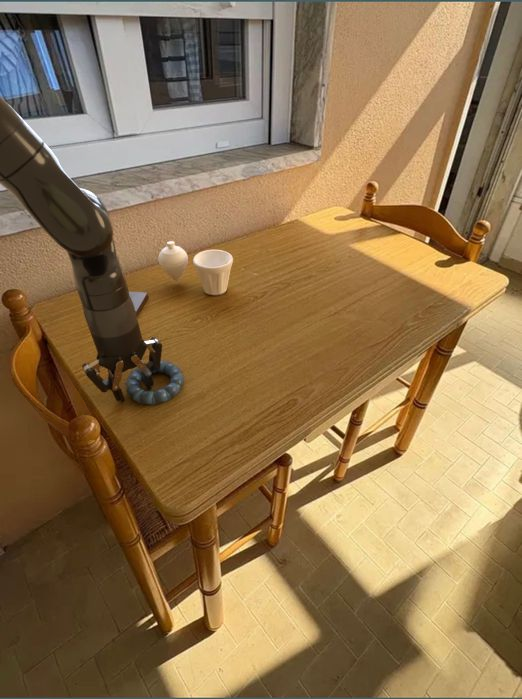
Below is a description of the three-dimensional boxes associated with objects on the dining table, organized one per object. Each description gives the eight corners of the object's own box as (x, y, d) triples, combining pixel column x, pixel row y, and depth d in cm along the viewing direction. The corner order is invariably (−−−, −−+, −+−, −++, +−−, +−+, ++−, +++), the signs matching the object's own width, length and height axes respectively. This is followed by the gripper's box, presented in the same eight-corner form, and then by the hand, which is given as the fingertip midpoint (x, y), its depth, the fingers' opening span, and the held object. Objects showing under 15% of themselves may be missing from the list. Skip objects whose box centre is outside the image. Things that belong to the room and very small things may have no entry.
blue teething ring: (119, 404, 71) (116, 395, 70) (138, 365, 79) (136, 356, 78) (175, 409, 70) (173, 400, 69) (189, 368, 79) (188, 360, 77)
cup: (190, 296, 99) (186, 264, 93) (205, 277, 106) (202, 247, 100) (226, 303, 97) (224, 270, 91) (239, 283, 104) (238, 252, 98)
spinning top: (182, 273, 108) (176, 233, 100) (196, 284, 103) (191, 243, 96) (157, 282, 104) (149, 241, 96) (171, 294, 100) (164, 252, 92)
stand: (100, 315, 92) (84, 265, 84) (115, 295, 99) (101, 247, 90) (136, 317, 92) (124, 267, 83) (148, 297, 99) (138, 249, 90)
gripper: (145, 297, 67) (161, 367, 78) (60, 325, 61) (91, 397, 72) (163, 318, 62) (177, 389, 74) (74, 350, 56) (104, 423, 67)
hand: (134, 393), depth 73 cm, fingers open, 4 cm apart
